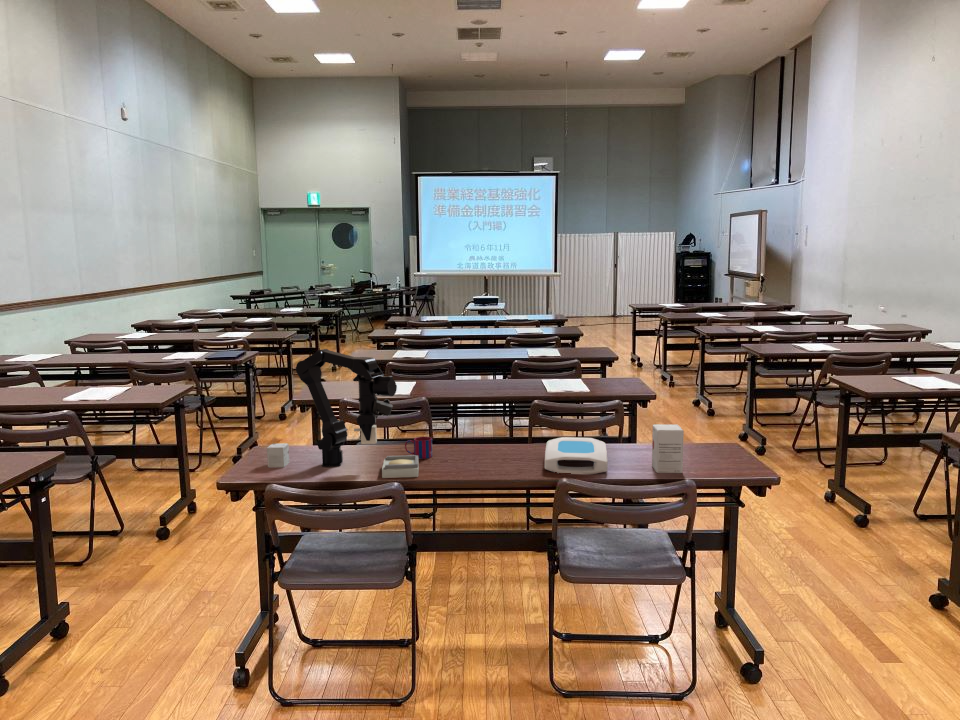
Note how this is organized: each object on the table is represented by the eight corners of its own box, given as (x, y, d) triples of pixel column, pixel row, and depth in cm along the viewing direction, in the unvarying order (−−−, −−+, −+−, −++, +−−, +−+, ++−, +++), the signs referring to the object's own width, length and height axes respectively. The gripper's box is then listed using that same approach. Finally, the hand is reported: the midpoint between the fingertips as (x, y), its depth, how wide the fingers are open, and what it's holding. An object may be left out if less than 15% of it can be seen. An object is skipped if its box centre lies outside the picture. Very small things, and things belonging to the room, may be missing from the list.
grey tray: (382, 478, 235) (381, 466, 234) (384, 466, 248) (384, 455, 248) (418, 476, 235) (418, 465, 235) (418, 465, 249) (418, 454, 249)
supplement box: (651, 465, 246) (651, 423, 244) (677, 466, 245) (678, 424, 243) (656, 473, 237) (657, 429, 235) (683, 473, 236) (684, 429, 234)
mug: (431, 458, 258) (431, 440, 257) (404, 459, 258) (403, 440, 257) (433, 454, 264) (432, 436, 263) (406, 454, 265) (406, 436, 264)
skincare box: (284, 467, 248) (283, 447, 247) (267, 467, 249) (266, 447, 248) (289, 463, 254) (288, 443, 253) (273, 463, 255) (272, 443, 254)
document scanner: (544, 474, 238) (544, 456, 238) (547, 452, 266) (547, 436, 265) (607, 475, 235) (607, 457, 235) (604, 453, 263) (604, 437, 262)
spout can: (353, 444, 241) (353, 425, 240) (355, 440, 246) (354, 422, 245) (375, 443, 241) (375, 425, 241) (376, 440, 246) (376, 422, 246)
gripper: (389, 398, 233) (391, 444, 235) (392, 389, 251) (393, 431, 253) (355, 399, 232) (357, 445, 234) (360, 390, 251) (362, 432, 253)
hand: (368, 438), depth 244 cm, fingers closed on spout can, 5 cm apart
